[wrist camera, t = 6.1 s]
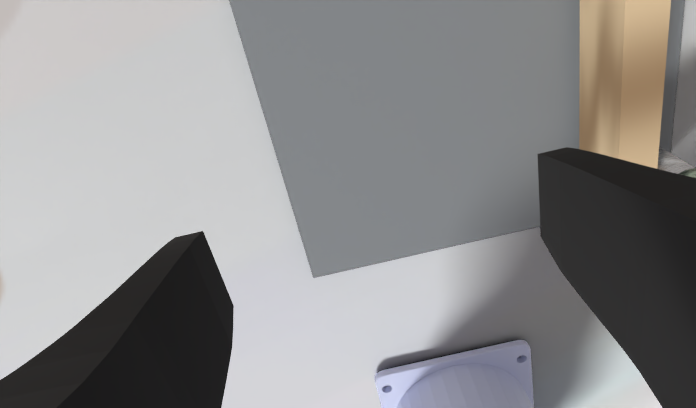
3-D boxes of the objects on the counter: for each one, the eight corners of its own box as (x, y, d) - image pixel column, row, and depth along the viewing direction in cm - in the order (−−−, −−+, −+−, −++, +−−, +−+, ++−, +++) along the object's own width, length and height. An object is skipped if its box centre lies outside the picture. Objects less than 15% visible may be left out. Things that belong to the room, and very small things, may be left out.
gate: (611, 196, 22) (659, 235, 19) (579, 204, 22) (621, 244, 19) (621, -79, 17) (687, -82, 14) (579, -69, 17) (636, -70, 14)
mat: (662, 194, 23) (666, 197, 23) (313, 273, 23) (313, 277, 23) (699, -226, 16) (706, -229, 16) (199, -103, 16) (197, -104, 16)
